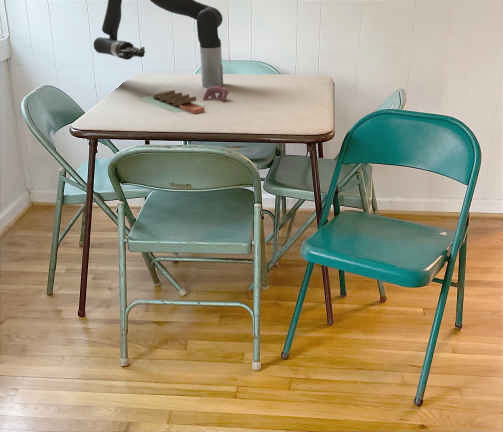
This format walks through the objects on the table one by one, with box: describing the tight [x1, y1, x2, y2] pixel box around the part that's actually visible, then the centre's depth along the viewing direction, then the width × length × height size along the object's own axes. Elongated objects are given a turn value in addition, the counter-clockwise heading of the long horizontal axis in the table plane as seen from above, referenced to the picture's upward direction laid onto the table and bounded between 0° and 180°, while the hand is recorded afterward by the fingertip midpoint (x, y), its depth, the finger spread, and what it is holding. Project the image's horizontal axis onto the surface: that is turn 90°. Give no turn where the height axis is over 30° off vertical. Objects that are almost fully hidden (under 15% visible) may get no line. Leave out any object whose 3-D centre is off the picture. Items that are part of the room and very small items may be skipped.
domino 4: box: [173, 96, 198, 106], centre depth 250 cm, size 2×5×10 cm
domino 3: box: [166, 94, 190, 104], centre depth 254 cm, size 2×5×10 cm
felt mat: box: [137, 94, 205, 114], centre depth 259 cm, size 30×14×1 cm, turn 39°
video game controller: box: [203, 86, 229, 103], centre depth 261 cm, size 10×5×7 cm, turn 66°
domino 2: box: [159, 92, 183, 101], centre depth 258 cm, size 2×5×10 cm
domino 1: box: [152, 89, 176, 99], centre depth 261 cm, size 2×5×10 cm
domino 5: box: [179, 103, 205, 115], centre depth 247 cm, size 2×5×10 cm
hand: (142, 54), depth 266 cm, fingers closed
